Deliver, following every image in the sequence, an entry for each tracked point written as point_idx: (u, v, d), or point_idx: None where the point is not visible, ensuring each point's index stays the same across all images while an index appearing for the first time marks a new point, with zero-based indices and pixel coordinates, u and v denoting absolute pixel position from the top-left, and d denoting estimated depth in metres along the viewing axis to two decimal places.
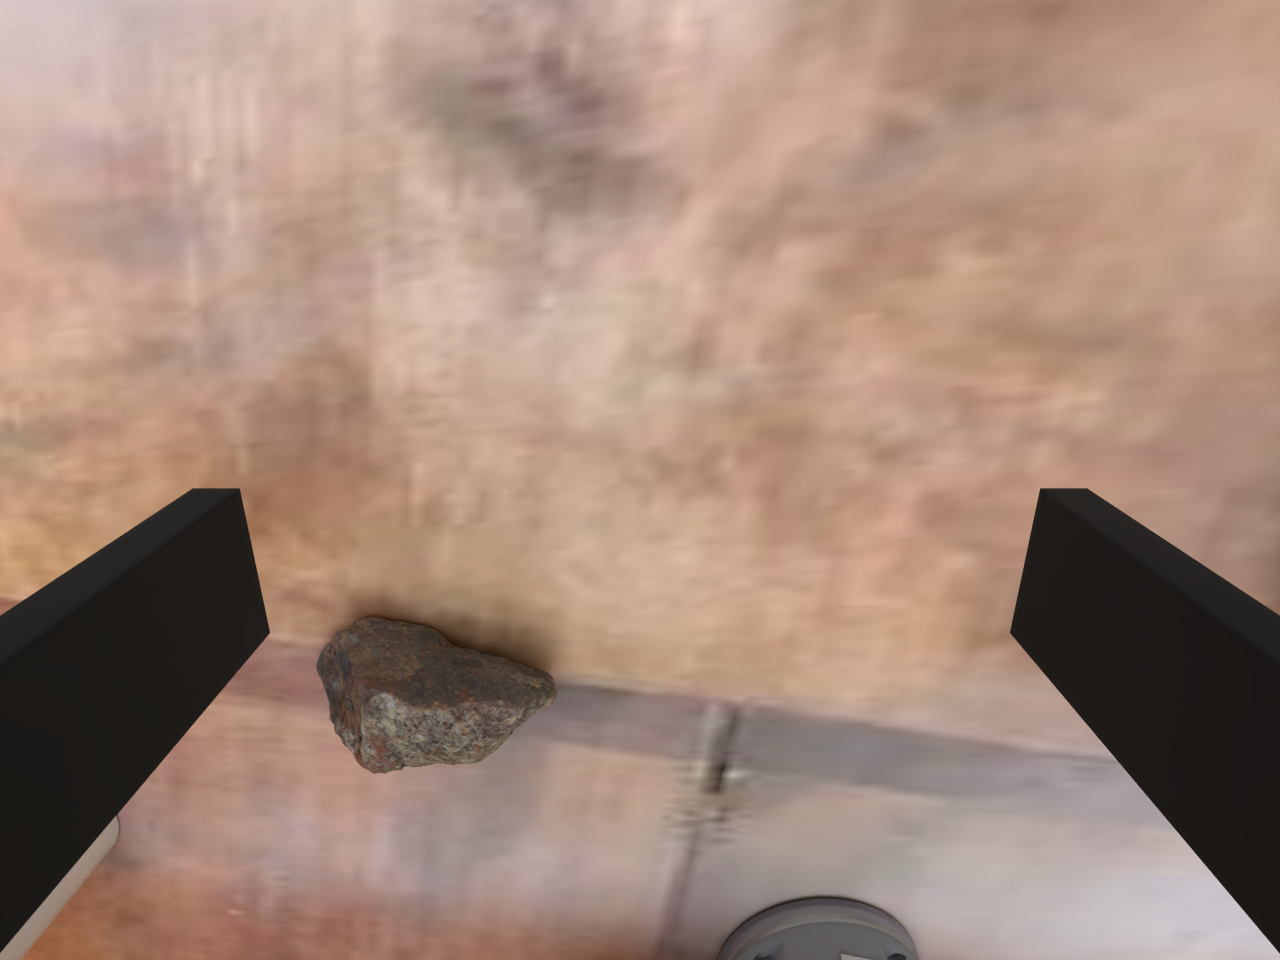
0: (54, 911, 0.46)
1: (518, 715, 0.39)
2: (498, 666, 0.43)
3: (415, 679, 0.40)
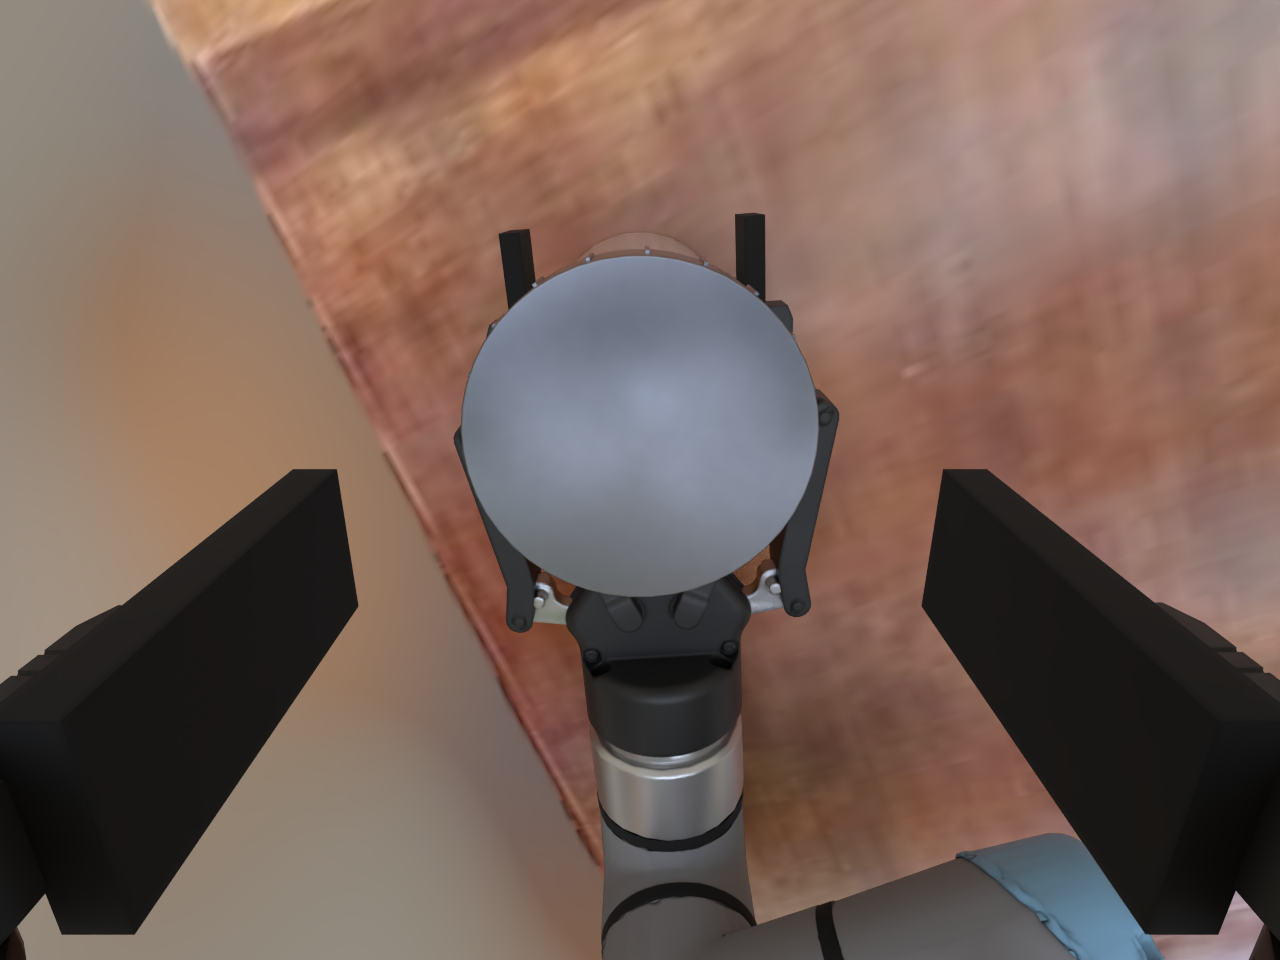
0: None
1: None
2: None
3: None
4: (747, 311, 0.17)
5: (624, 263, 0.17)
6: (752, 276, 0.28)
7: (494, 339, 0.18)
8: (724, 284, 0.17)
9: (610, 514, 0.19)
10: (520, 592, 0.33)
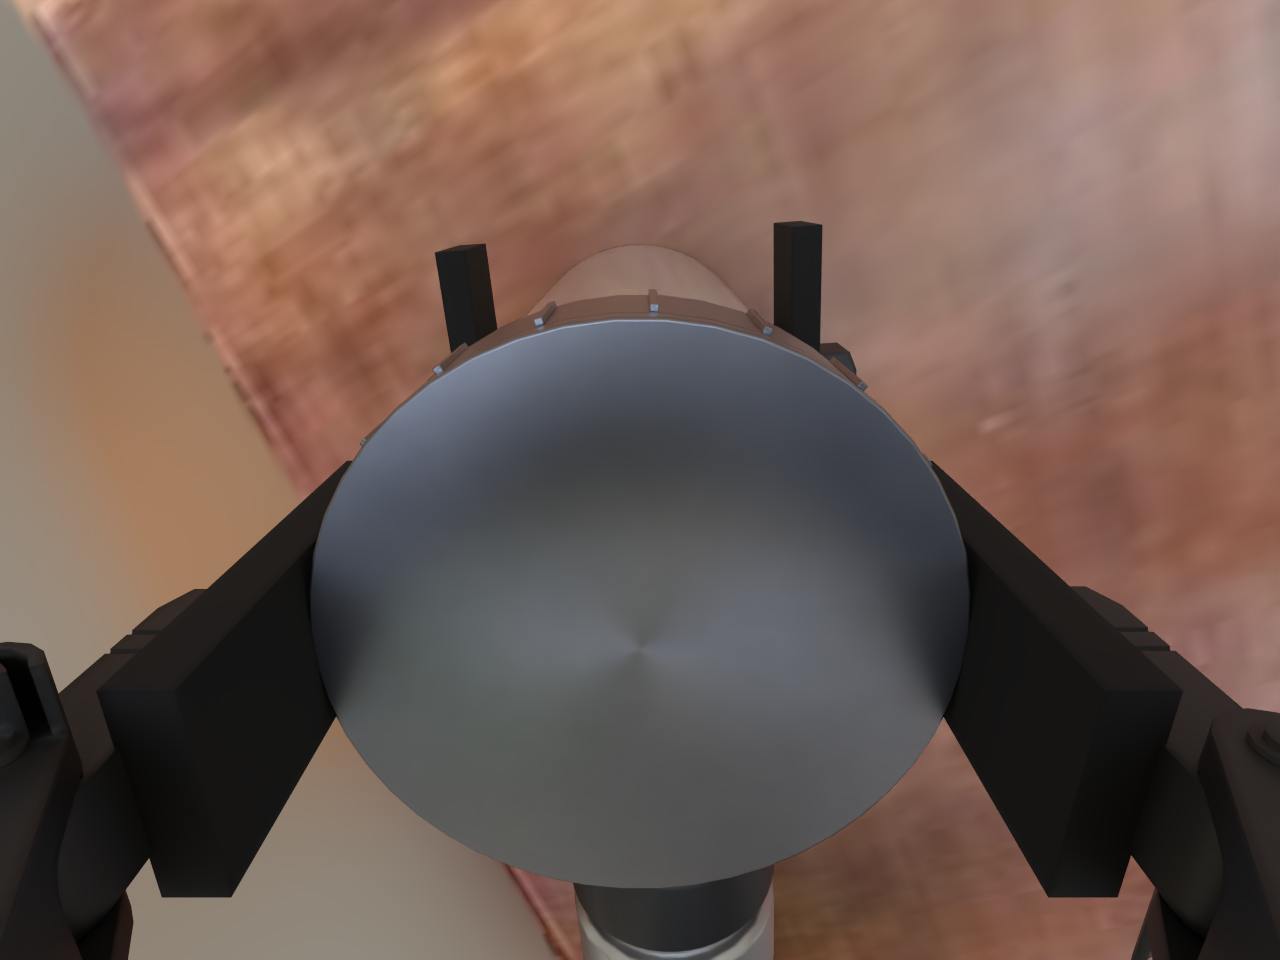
0: None
1: None
2: None
3: None
4: (848, 423, 0.09)
5: (608, 333, 0.09)
6: (802, 314, 0.19)
7: (359, 475, 0.09)
8: (806, 373, 0.09)
9: (587, 765, 0.11)
10: None
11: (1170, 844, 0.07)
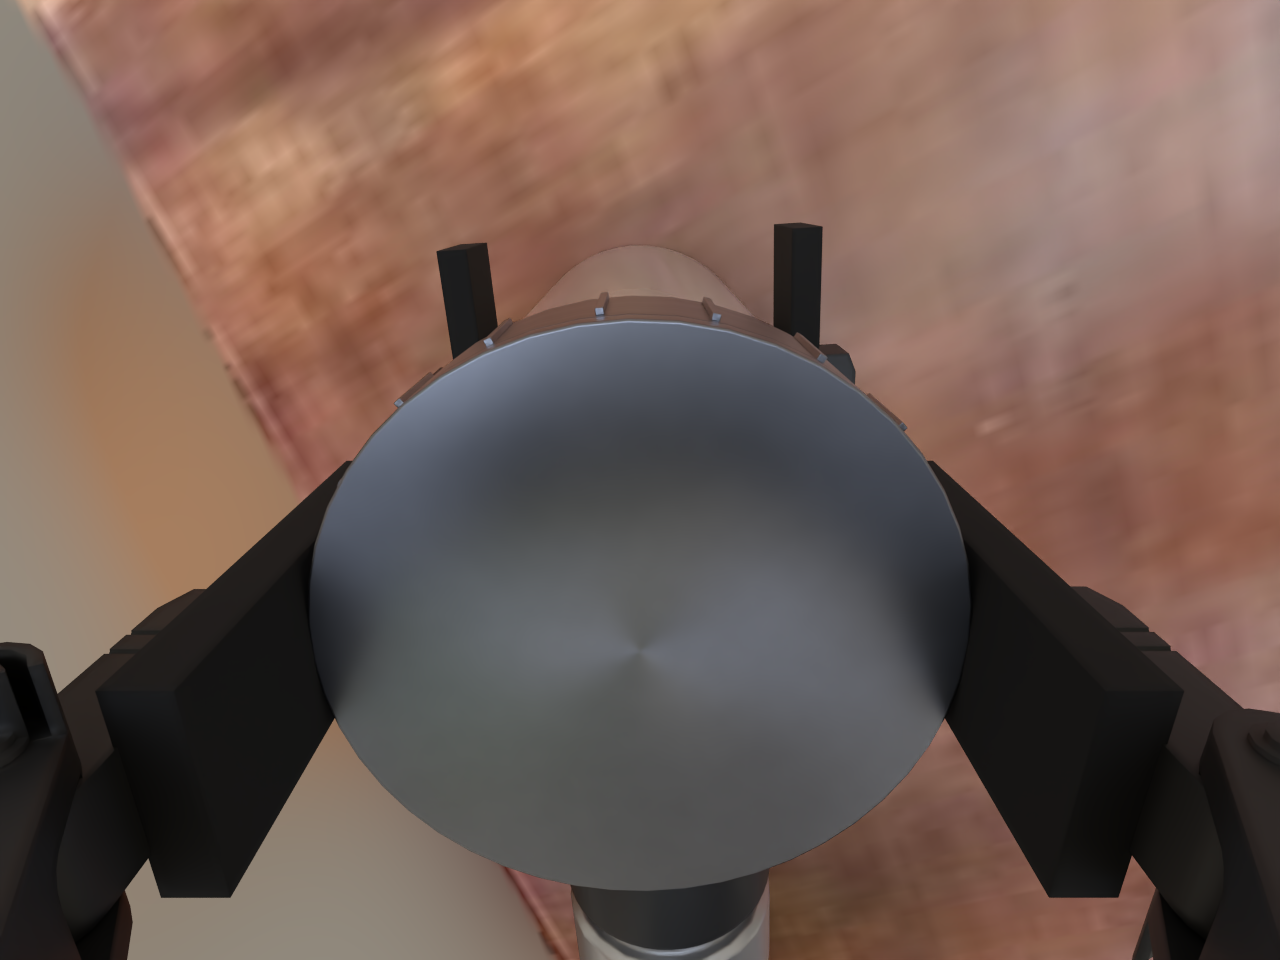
0: None
1: None
2: None
3: None
4: (414, 439, 0.09)
5: (320, 627, 0.10)
6: (802, 315, 0.19)
7: (435, 819, 0.11)
8: (360, 475, 0.09)
9: (770, 716, 0.10)
10: None
11: (1172, 843, 0.07)
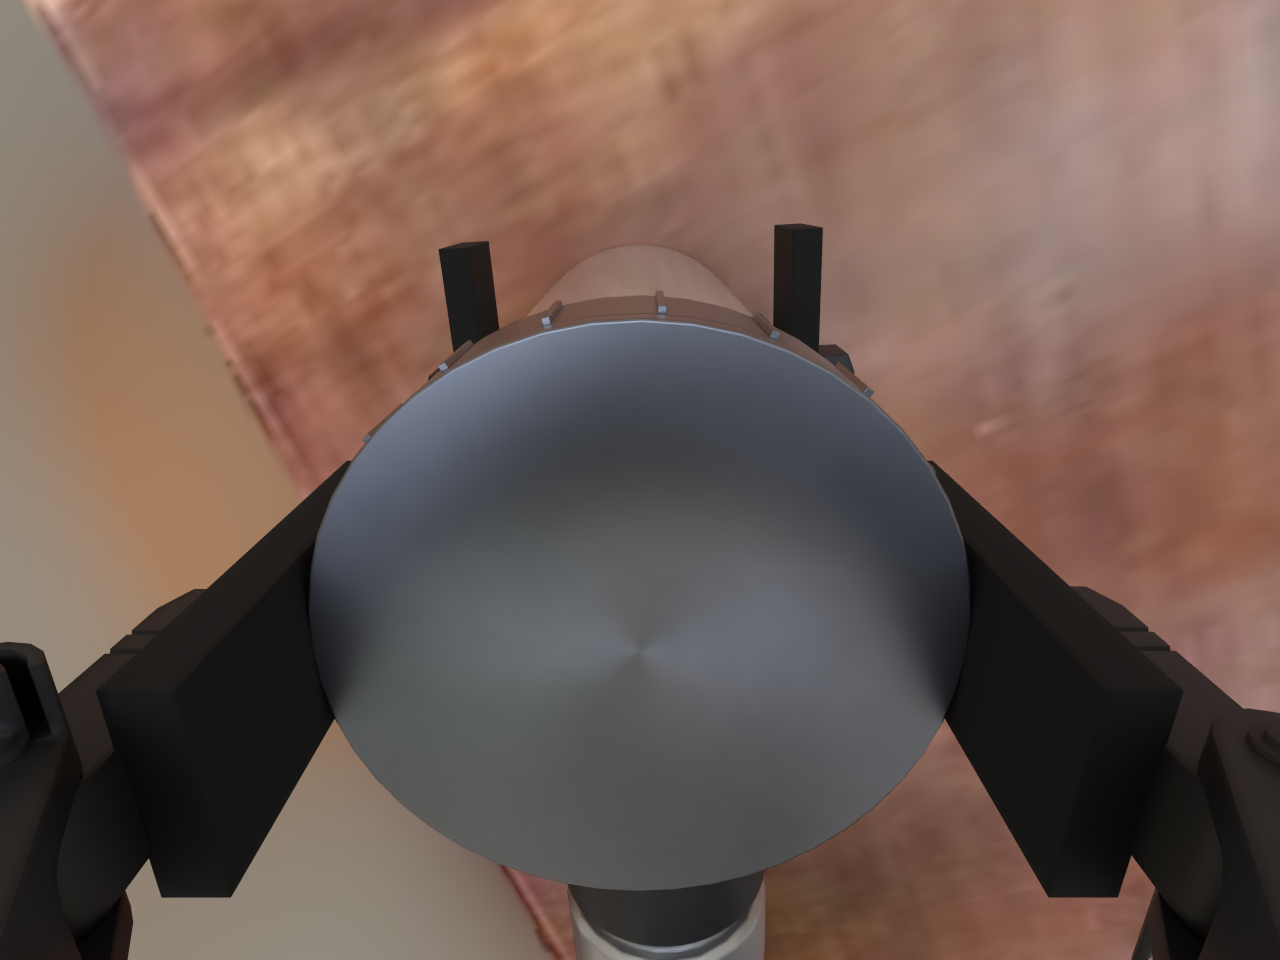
0: None
1: None
2: None
3: None
4: (405, 778, 0.11)
5: (570, 876, 0.12)
6: (801, 315, 0.19)
7: (798, 846, 0.11)
8: (432, 819, 0.11)
9: (747, 542, 0.09)
10: None
11: (1171, 844, 0.07)
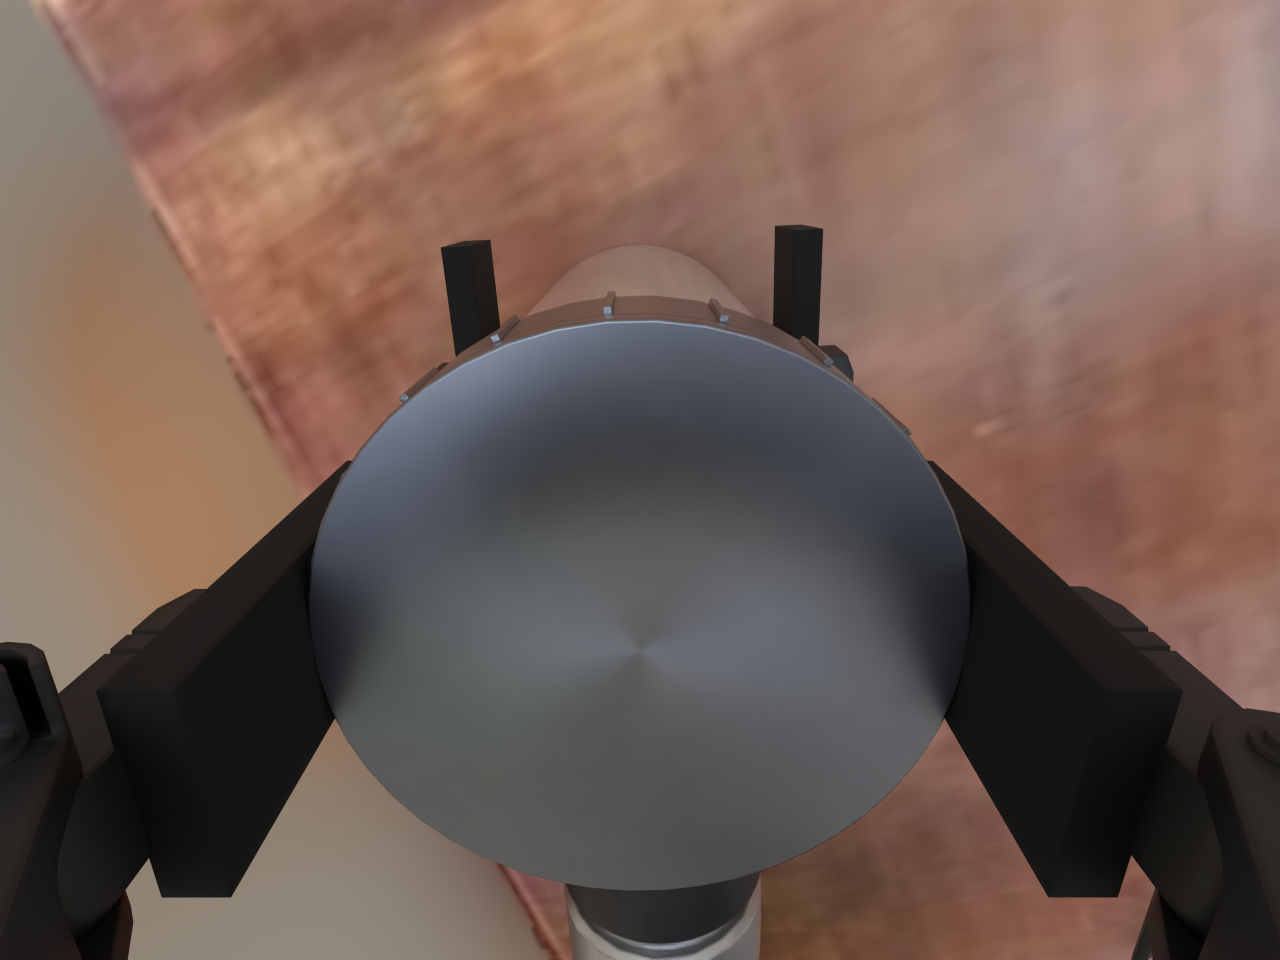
0: None
1: None
2: None
3: None
4: (742, 857, 0.11)
5: (910, 753, 0.11)
6: (801, 316, 0.19)
7: (945, 529, 0.09)
8: (796, 849, 0.11)
9: (531, 542, 0.09)
10: None
11: (1171, 843, 0.07)
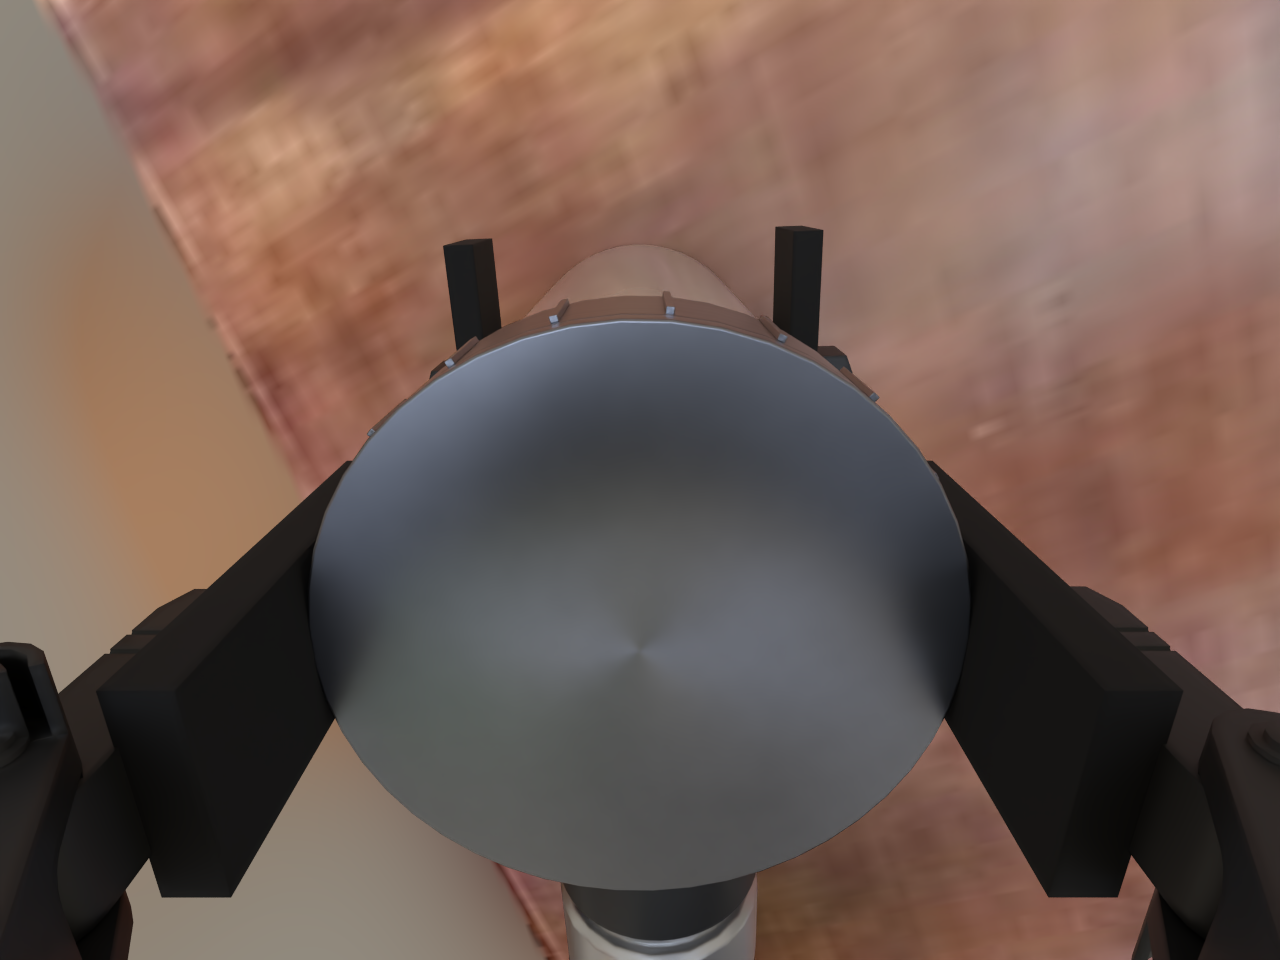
0: None
1: None
2: None
3: None
4: (941, 590, 0.10)
5: (840, 394, 0.09)
6: (801, 316, 0.20)
7: (541, 347, 0.09)
8: (947, 533, 0.09)
9: (508, 716, 0.10)
10: None
11: (1170, 844, 0.07)
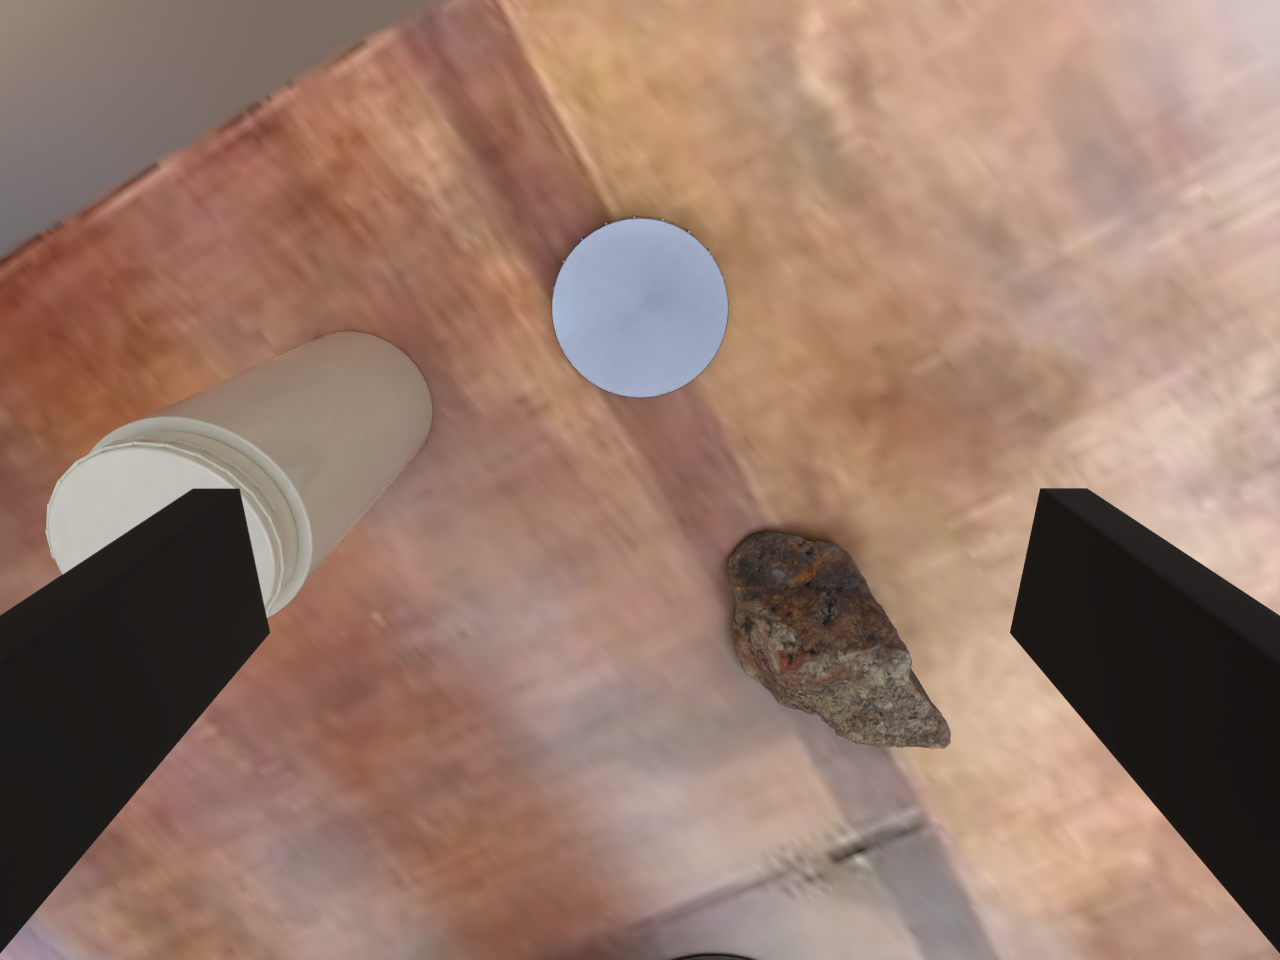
0: None
1: (942, 747, 0.41)
2: None
3: None
4: (634, 226, 0.36)
5: (576, 250, 0.36)
6: None
7: (555, 320, 0.38)
8: (617, 225, 0.36)
9: (654, 351, 0.38)
10: None
11: None
